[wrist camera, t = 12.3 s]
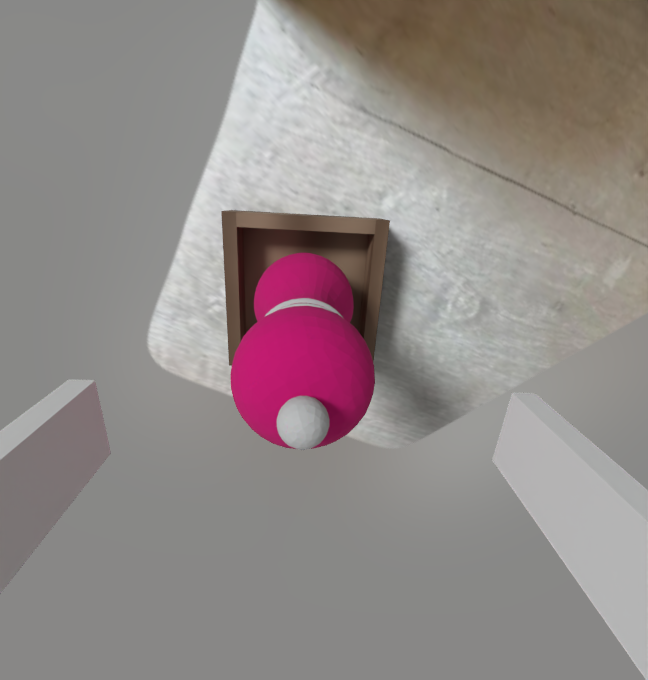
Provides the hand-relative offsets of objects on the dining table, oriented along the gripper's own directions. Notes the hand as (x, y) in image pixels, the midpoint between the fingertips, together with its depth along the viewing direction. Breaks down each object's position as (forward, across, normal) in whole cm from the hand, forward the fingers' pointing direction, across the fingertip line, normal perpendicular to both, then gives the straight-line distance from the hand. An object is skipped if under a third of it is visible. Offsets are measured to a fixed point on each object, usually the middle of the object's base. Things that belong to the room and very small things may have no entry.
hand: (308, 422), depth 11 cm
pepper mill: (+20, 0, 0) cm, 20 cm away
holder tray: (+20, 0, 0) cm, 20 cm away
